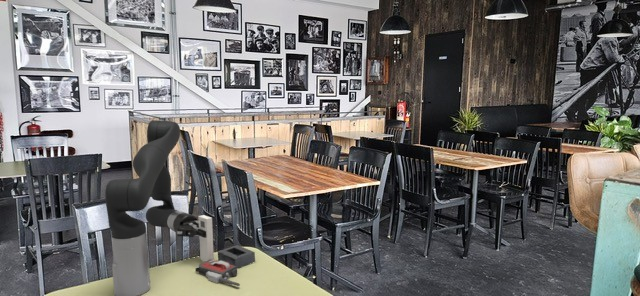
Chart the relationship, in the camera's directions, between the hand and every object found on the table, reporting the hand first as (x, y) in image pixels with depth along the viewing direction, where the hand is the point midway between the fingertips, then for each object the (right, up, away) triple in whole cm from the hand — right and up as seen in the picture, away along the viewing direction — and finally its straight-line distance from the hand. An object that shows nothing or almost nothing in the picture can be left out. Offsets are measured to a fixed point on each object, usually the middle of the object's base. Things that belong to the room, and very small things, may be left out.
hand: (208, 233), depth 143 cm
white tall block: (-1, -9, +3) cm, 10 cm away
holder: (+8, -10, +5) cm, 14 cm away
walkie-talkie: (+6, -13, -7) cm, 16 cm away
